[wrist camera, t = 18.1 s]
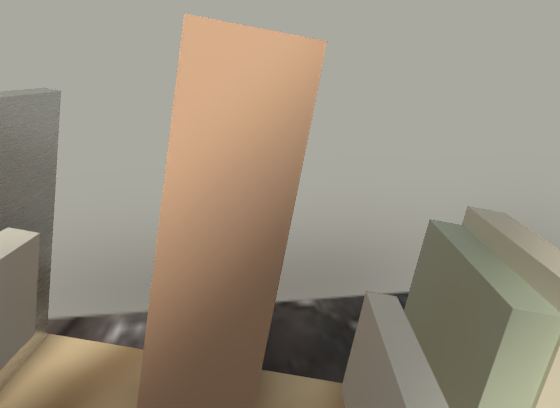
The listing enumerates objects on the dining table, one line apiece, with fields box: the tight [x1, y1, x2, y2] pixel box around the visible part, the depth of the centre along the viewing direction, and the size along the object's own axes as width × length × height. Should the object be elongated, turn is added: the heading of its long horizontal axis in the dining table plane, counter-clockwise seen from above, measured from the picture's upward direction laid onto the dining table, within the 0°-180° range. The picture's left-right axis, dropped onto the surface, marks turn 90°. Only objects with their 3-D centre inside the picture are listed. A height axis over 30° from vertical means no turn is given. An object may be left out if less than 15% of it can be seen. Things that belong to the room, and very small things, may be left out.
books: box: [404, 207, 560, 408], centre depth 22 cm, size 4×10×12 cm, turn 179°
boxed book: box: [137, 14, 327, 408], centre depth 21 cm, size 4×10×18 cm, turn 179°
